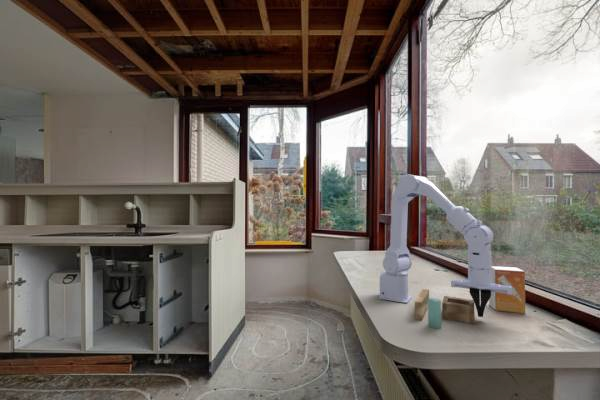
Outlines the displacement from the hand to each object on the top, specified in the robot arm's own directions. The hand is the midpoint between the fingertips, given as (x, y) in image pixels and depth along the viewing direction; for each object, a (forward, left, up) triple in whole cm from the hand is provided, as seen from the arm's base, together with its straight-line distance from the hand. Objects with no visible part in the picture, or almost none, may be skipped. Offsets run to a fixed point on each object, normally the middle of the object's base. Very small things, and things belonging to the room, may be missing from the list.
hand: (480, 315), depth 81 cm
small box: (+7, +16, -2) cm, 18 cm away
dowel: (-11, -11, -1) cm, 15 cm away
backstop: (-15, -1, -1) cm, 15 cm away
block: (-6, 0, -1) cm, 6 cm away
